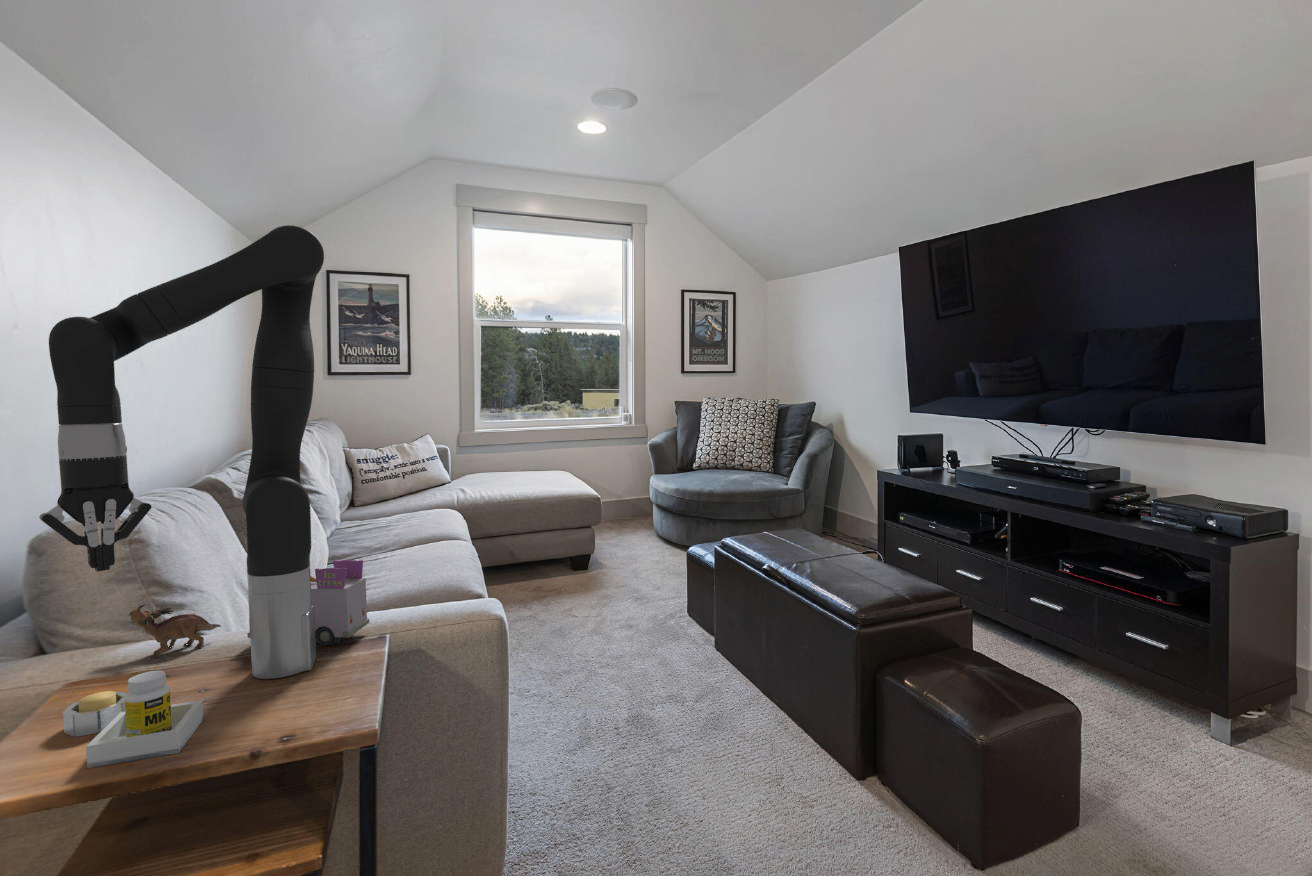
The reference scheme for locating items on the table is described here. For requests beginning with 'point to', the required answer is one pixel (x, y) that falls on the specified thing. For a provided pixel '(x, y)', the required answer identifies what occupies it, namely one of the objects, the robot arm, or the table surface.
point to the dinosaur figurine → (171, 627)
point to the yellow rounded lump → (97, 701)
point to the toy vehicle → (338, 601)
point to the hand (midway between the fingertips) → (102, 569)
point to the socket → (91, 717)
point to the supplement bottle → (148, 704)
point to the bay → (144, 738)
